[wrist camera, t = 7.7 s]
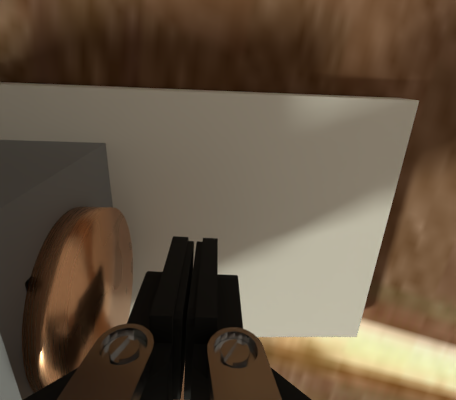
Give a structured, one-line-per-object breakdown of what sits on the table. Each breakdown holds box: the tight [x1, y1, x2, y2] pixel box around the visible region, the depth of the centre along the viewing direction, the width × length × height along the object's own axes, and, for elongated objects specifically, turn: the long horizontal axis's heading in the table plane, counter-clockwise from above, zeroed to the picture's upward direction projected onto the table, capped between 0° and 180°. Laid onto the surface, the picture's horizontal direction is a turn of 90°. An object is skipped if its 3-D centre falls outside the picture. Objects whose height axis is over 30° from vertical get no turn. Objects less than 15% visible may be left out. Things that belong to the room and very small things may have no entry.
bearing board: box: [0, 82, 419, 400], centre depth 11 cm, size 27×12×9 cm, turn 88°
